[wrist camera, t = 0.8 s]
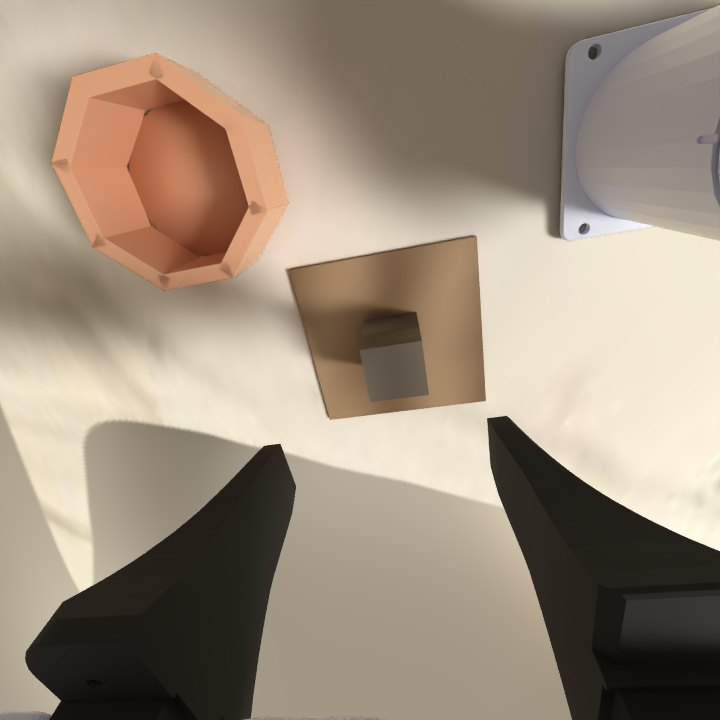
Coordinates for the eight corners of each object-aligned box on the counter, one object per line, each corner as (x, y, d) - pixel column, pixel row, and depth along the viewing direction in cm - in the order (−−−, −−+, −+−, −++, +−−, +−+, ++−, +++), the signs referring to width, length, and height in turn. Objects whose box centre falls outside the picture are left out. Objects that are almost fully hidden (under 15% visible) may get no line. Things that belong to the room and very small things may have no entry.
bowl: (258, 65, 17) (218, 34, 13) (304, 248, 21) (283, 268, 17) (98, 108, 18) (16, 92, 14) (167, 275, 22) (117, 299, 18)
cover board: (473, 234, 20) (496, 252, 16) (482, 394, 24) (503, 442, 20) (292, 267, 22) (268, 292, 17) (331, 412, 26) (320, 461, 22)
